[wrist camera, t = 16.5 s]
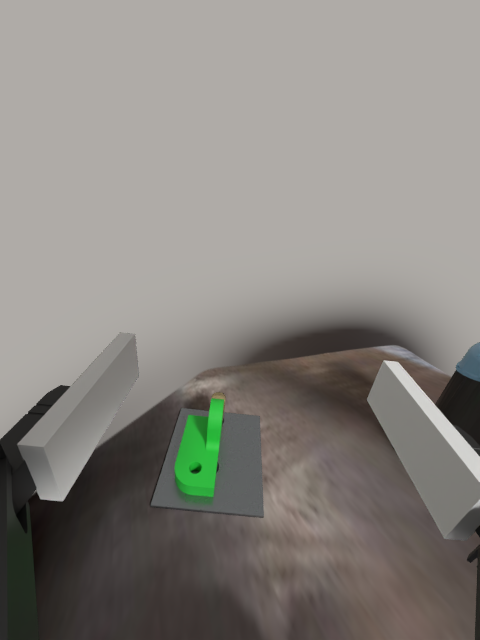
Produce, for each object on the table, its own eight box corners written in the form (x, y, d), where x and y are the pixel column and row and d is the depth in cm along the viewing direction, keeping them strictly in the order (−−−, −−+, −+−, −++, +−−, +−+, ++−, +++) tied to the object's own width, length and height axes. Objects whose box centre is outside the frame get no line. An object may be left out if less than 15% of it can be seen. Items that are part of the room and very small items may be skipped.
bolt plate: (259, 417, 49) (263, 393, 47) (263, 517, 34) (270, 491, 32) (181, 409, 49) (181, 385, 47) (150, 506, 34) (148, 479, 31)
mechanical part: (188, 422, 46) (188, 388, 43) (221, 426, 46) (224, 392, 43) (169, 492, 35) (168, 454, 32) (213, 496, 36) (216, 459, 32)
